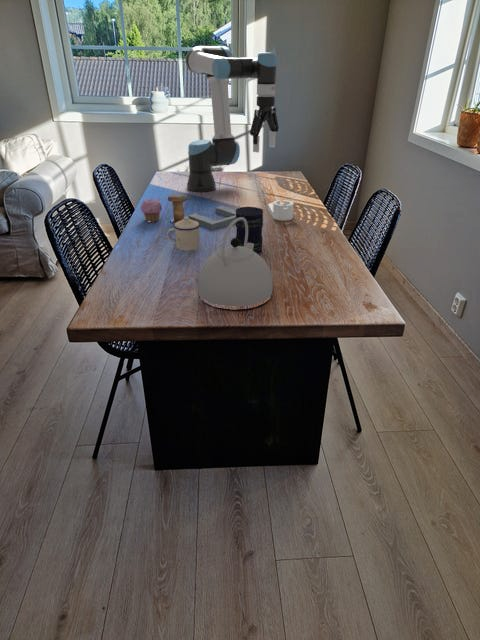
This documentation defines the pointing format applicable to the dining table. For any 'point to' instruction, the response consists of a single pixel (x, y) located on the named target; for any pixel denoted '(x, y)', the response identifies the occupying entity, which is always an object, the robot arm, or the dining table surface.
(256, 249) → the storage jar
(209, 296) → the kettle
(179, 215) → the bobbin
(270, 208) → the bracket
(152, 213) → the cupcake
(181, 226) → the teacup with lid
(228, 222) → the notched board
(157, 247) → the dining table surface
